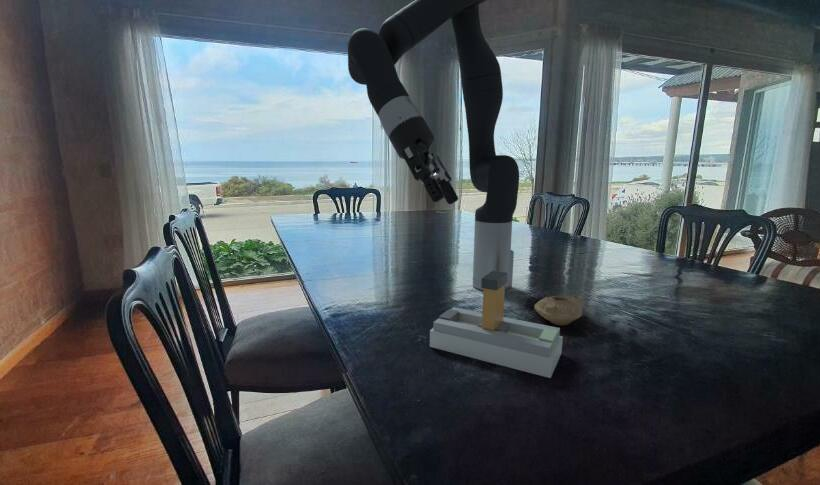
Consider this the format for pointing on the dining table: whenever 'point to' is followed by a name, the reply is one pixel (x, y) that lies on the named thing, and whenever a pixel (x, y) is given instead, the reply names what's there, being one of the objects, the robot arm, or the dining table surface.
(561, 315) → the pottery oil lamp
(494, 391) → the dining table surface
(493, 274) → the breaker lever
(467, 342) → the base
